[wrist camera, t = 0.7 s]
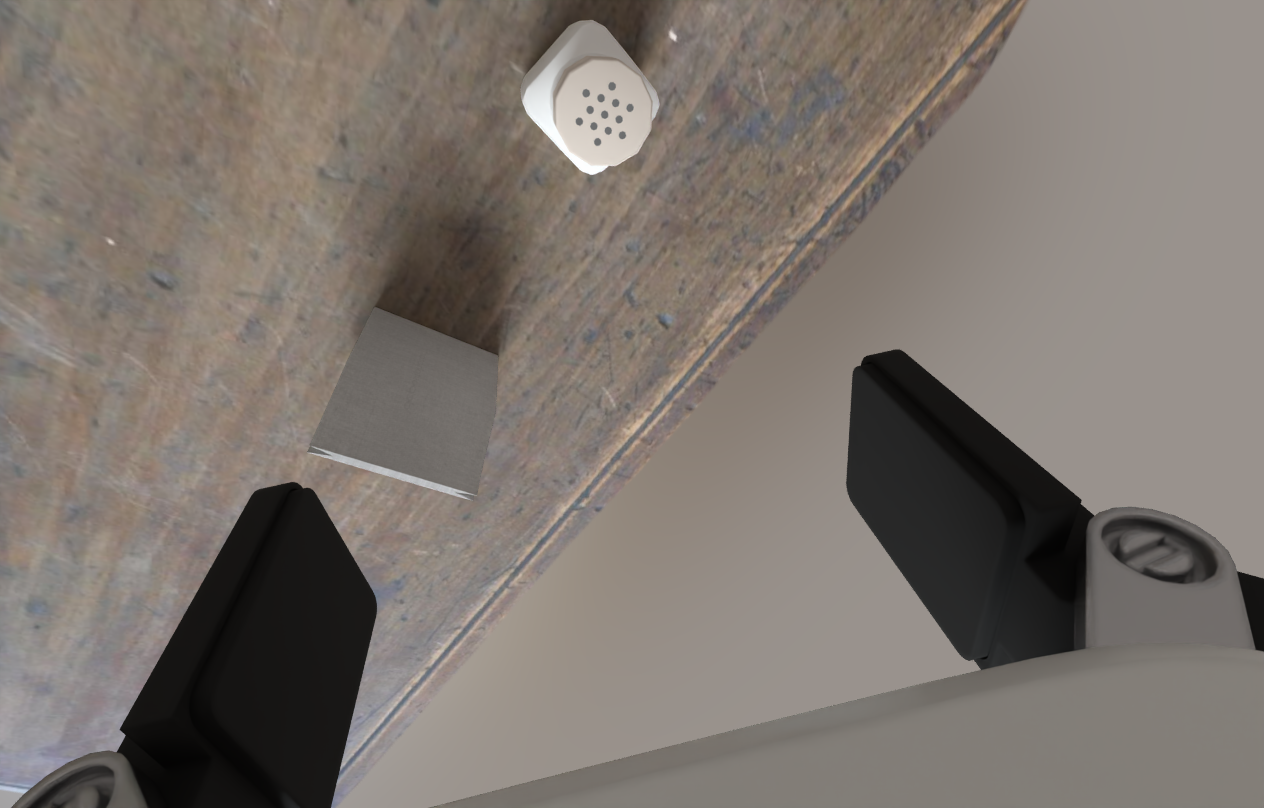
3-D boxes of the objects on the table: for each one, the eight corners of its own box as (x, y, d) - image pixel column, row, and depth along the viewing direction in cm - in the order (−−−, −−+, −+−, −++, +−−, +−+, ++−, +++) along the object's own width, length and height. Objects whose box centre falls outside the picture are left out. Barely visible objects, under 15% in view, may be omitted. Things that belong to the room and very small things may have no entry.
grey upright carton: (374, 306, 31) (322, 410, 23) (498, 355, 33) (493, 465, 25) (352, 364, 32) (295, 482, 24) (473, 407, 35) (459, 527, 27)
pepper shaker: (514, 86, 27) (514, 112, 19) (577, 14, 26) (606, 8, 18) (578, 155, 29) (603, 205, 21) (639, 90, 28) (690, 116, 20)
